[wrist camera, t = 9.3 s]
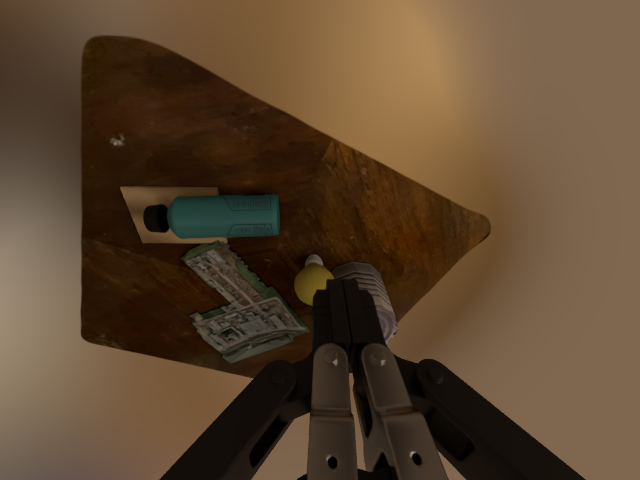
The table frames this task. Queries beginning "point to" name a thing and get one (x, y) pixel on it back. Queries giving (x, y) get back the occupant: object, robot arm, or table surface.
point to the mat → (155, 195)
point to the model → (240, 306)
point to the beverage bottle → (216, 216)
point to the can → (371, 292)
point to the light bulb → (311, 279)
